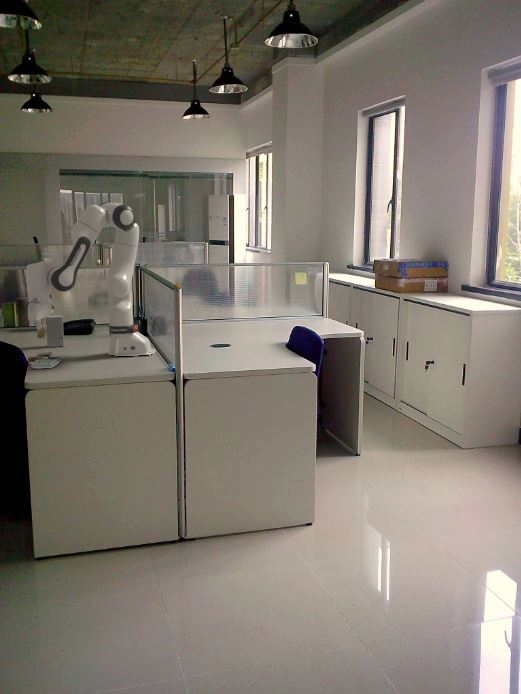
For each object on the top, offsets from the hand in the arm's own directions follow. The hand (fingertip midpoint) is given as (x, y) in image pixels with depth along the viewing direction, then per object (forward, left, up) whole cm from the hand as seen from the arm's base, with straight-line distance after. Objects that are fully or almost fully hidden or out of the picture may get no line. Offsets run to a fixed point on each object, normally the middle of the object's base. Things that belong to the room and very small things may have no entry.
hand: (41, 328), depth 299 cm
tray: (0, 0, -18) cm, 18 cm away
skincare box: (+10, -48, -18) cm, 53 cm away
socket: (-1, -8, -18) cm, 19 cm away
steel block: (+6, -19, -18) cm, 27 cm away
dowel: (0, 0, -4) cm, 4 cm away
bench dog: (+6, -7, -18) cm, 20 cm away
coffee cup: (+33, -100, -18) cm, 107 cm away
